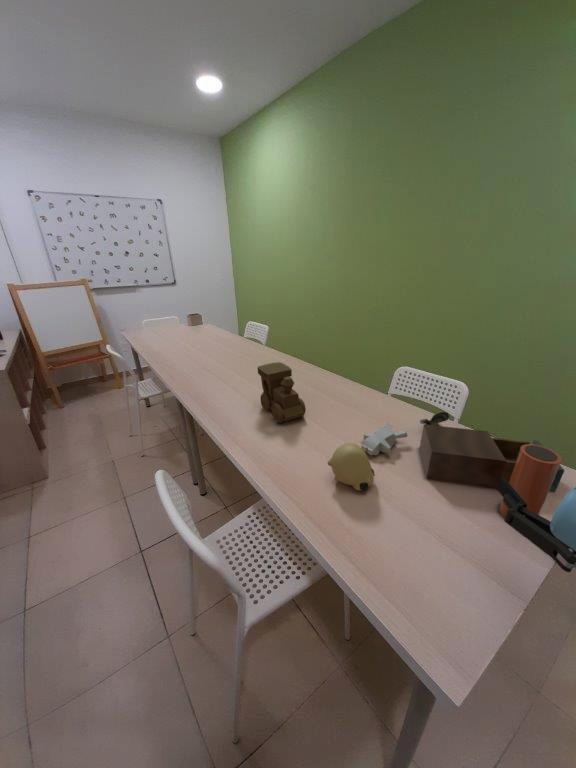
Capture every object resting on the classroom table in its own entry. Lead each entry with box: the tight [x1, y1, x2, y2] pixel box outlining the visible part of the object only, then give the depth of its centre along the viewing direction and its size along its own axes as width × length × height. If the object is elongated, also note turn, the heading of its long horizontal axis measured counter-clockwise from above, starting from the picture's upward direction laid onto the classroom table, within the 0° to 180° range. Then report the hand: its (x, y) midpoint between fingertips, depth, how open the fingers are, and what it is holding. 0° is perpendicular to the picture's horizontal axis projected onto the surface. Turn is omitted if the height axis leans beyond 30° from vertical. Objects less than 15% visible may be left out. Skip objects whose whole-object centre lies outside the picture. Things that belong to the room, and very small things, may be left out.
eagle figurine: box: [419, 411, 450, 426], centre depth 99 cm, size 8×7×9 cm
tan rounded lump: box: [327, 442, 376, 492], centre depth 77 cm, size 10×12×11 cm
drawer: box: [492, 437, 565, 494], centre depth 78 cm, size 17×12×7 cm
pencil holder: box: [499, 443, 563, 519], centre depth 64 cm, size 7×7×17 cm
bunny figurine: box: [361, 422, 408, 457], centre depth 92 cm, size 10×5×15 cm
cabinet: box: [419, 424, 507, 490], centre depth 81 cm, size 17×14×9 cm
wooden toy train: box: [257, 361, 307, 424], centre depth 111 cm, size 20×11×17 cm, turn 29°
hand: (539, 485), depth 56 cm, fingers open, 13 cm apart
